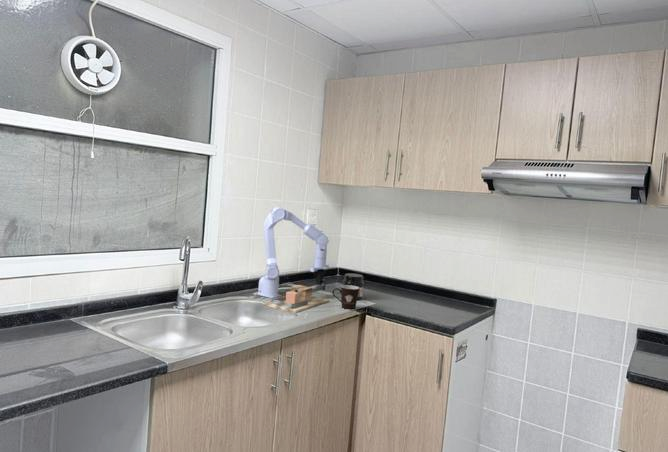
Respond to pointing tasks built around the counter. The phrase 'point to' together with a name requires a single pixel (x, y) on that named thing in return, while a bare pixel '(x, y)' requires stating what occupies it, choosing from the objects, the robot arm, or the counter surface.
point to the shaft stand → (303, 303)
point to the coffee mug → (348, 296)
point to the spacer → (292, 297)
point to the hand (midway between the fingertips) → (318, 284)
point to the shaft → (316, 287)
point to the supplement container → (355, 282)
